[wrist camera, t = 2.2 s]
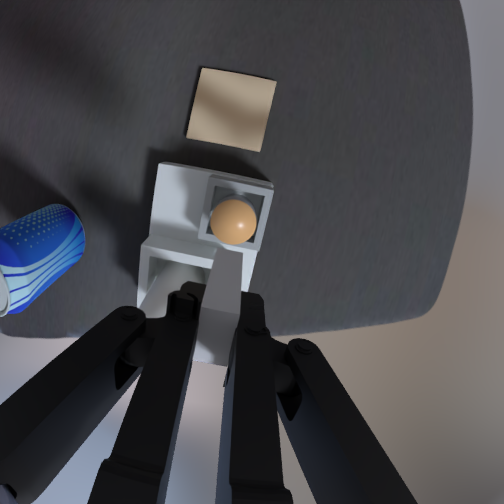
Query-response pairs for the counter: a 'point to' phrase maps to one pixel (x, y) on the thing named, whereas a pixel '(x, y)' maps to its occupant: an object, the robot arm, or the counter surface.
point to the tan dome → (233, 219)
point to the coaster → (231, 109)
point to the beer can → (37, 254)
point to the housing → (197, 221)
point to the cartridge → (169, 286)
